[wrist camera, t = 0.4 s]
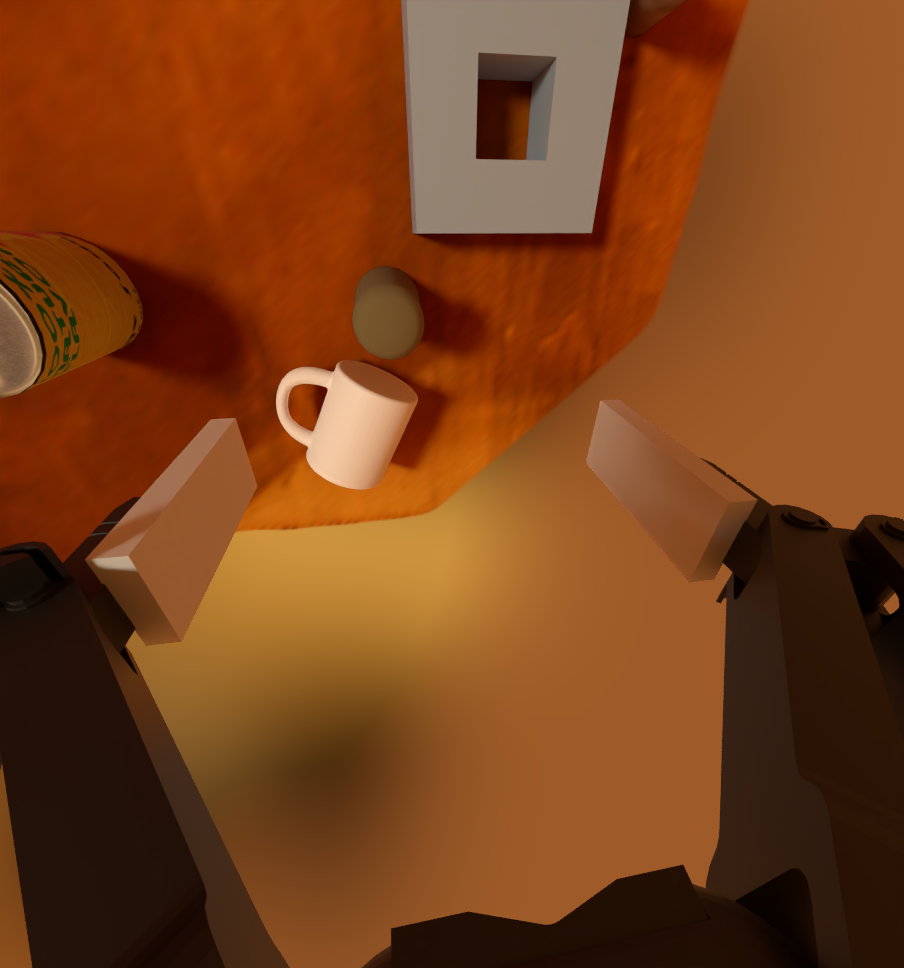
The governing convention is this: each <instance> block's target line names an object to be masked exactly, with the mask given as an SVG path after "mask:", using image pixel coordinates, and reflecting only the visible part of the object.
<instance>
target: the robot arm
mask: <svg viewBox="0 0 904 968" xmlns="http://www.w3.org/2000/svg"><path fill="white" fill-rule="evenodd" d="M586 463H587V464H588V466H589V467H590V468H591V469H592V470H593V471H594V473H595V474H596V475H597V476H598V477H599V478H600V479H601V481H602V482H603V483H604V484H605V485H606V486H607V488H608V489H609V490H610V491H611V492H612V493H613V495H614V496H615V497H616V498H617V499H618V500H619V501H620V503H621V504H622V505H623V506H624V507H625V508H626V510H627V511H628V512H629V513H630V514H631V515H632V516H633V518H634V519H635V520H636V521H637V522H638V524H639V525H640V526H641V527H642V528H643V529H644V530H645V532H646V533H647V534H648V535H649V536H650V537H651V538H652V540H653V541H654V542H655V543H656V544H657V546H658V547H659V548H660V549H661V550H662V551H663V553H664V554H665V555H666V556H667V557H668V558H669V559H670V561H671V562H672V563H673V564H674V565H675V566H676V568H677V569H678V570H679V571H680V572H681V573H682V575H683V576H684V577H685V578H686V579H687V580H688V581H689V582H695V581H703V580H712V579H714V578H715V576H716V575H717V573H718V571H719V569H720V567H721V566H722V564H723V563H724V564H725V565H726V566H727V567H728V568H729V569H730V570H731V571H732V574H731V576H730V578H729V580H728V581H727V583H726V584H725V586H724V588H723V590H722V591H721V593H720V595H719V597H718V599H717V601H716V602H719V603H721V602H722V600H723V599H724V598H727V602H726V634H725V667H724V700H723V702H724V703H723V733H722V736H723V737H722V765H721V800H720V802H721V803H720V830H719V839H718V844H717V848H716V851H715V853H714V856H713V859H712V861H711V864H710V867H709V872H708V876H707V880H706V888H703V887H700V886H697V885H694V884H692V882H691V880H690V878H689V876H688V874H687V872H686V870H685V868H684V866H683V865H680V866H675V867H670V868H666V869H661V870H657V871H652V872H647V873H643V874H639V875H634V876H629V877H625V878H620V879H616V880H615V881H614V882H612V883H611V884H610V885H608V886H607V887H606V888H604V889H603V890H601V891H600V892H599V893H597V894H596V895H594V896H593V897H592V898H590V899H589V900H587V901H586V902H585V903H583V904H582V905H580V906H579V907H578V908H576V909H575V910H574V911H572V912H571V913H569V914H568V915H567V916H565V917H564V918H563V919H561V920H560V921H558V922H556V923H554V924H551V925H543V924H537V923H531V922H525V921H519V920H513V919H507V918H502V917H496V916H490V915H484V914H478V913H472V912H465V913H460V914H455V915H451V916H446V917H442V918H437V919H433V920H428V921H423V922H419V923H415V924H410V925H405V926H401V927H397V928H392V929H391V946H389V947H388V948H386V949H385V950H383V951H382V952H380V953H379V954H377V955H376V956H375V957H373V958H372V959H371V960H370V961H369V962H368V963H367V964H365V965H364V966H363V967H362V968H904V521H903V519H900V518H896V517H894V518H892V517H888V516H884V515H868V516H865V517H864V518H863V519H862V521H861V522H860V523H859V525H858V526H857V528H856V529H855V530H849V529H841V528H833V527H832V525H831V524H830V523H829V522H828V521H826V520H825V519H824V518H822V517H821V516H819V515H816V514H815V513H813V512H811V511H808V510H805V509H802V508H799V507H795V506H790V505H775V506H772V505H771V504H769V503H768V502H766V501H765V500H764V499H762V498H761V497H759V496H758V495H756V494H755V493H754V492H752V491H751V490H749V489H748V488H747V487H745V486H744V485H743V484H741V483H740V482H736V479H734V478H733V477H731V476H730V475H726V472H724V471H723V470H722V469H720V468H719V467H717V466H716V465H715V464H713V463H711V462H708V461H706V460H704V459H702V458H699V457H698V456H696V455H695V454H694V453H693V452H691V451H690V450H688V449H687V448H686V447H684V446H683V445H681V444H680V443H679V442H677V441H676V440H675V439H673V438H672V437H670V436H669V435H668V434H666V433H665V432H663V431H662V430H661V429H659V428H658V427H657V426H655V425H654V424H653V423H651V422H650V421H648V420H647V419H646V418H644V417H643V416H642V415H640V414H639V413H637V412H636V411H635V410H633V409H632V408H631V407H629V406H628V405H626V404H625V403H624V402H622V401H621V400H620V399H617V400H616V399H615V400H601V401H600V405H599V410H598V413H597V418H596V422H595V427H594V431H593V435H592V439H591V443H590V448H589V452H588V456H587V460H586ZM256 488H257V483H256V480H255V477H254V474H253V471H252V468H251V465H250V462H249V459H248V455H247V452H246V449H245V446H244V443H243V440H242V437H241V434H240V431H239V428H238V425H237V422H236V419H235V418H228V419H211V420H210V421H209V422H208V423H207V424H206V426H205V427H204V428H203V429H202V430H201V431H200V432H199V433H198V435H197V436H196V437H195V438H194V439H193V440H192V441H191V442H190V443H189V445H188V446H187V447H186V448H185V449H184V450H183V451H182V452H181V453H180V455H179V456H178V457H177V458H176V459H175V460H174V461H173V462H172V463H171V465H170V466H169V467H168V468H167V469H166V470H165V471H164V472H163V473H162V475H161V476H160V477H159V478H158V479H157V480H156V481H155V482H154V483H153V485H152V486H151V487H150V488H149V489H148V490H147V491H146V492H145V493H144V495H143V496H142V497H133V498H132V499H130V500H129V501H127V502H125V503H124V504H122V505H121V506H119V507H117V508H116V509H114V510H113V511H112V512H111V513H110V514H109V515H108V517H107V518H106V519H105V520H104V521H103V522H102V525H99V526H98V527H97V528H96V529H95V530H94V531H93V532H92V533H91V537H87V538H86V540H85V541H84V542H83V543H82V544H81V545H80V546H79V547H78V548H77V549H76V550H75V551H74V552H73V553H72V554H71V555H70V556H69V557H68V558H67V559H66V560H65V562H64V563H62V562H61V561H60V559H59V558H58V557H57V555H56V554H55V553H54V551H53V550H52V549H51V547H49V546H48V545H47V544H46V543H43V542H34V541H32V542H25V543H18V544H14V545H11V546H7V547H4V548H1V549H0V769H1V764H2V765H3V772H4V779H5V785H6V792H7V799H8V806H9V812H10V819H11V826H12V833H13V840H14V846H15V853H16V860H17V866H18V873H19V880H20V887H21V894H22V900H23V906H24V913H25V921H26V927H27V934H28V941H29V947H30V954H31V961H32V968H289V966H288V964H287V963H286V961H285V959H284V958H283V956H282V955H281V953H280V952H279V950H278V949H277V947H276V946H275V945H274V943H273V941H272V939H271V938H270V936H269V934H268V932H267V930H266V929H265V927H264V925H263V923H262V921H261V919H260V917H259V914H258V912H257V910H256V908H255V906H254V904H253V902H252V900H251V898H250V896H249V894H248V892H247V890H246V888H245V886H244V884H243V882H242V880H241V877H240V875H239V873H238V871H237V869H236V867H235V865H234V863H233V861H232V859H231V857H230V855H229V853H228V851H227V849H226V847H225V845H224V842H223V841H222V839H221V836H220V834H219V832H218V830H217V828H216V826H215V824H214V822H213V820H212V818H211V816H210V814H209V812H208V810H207V808H206V806H205V803H204V802H203V799H202V797H201V795H200V793H199V791H198V789H197V787H196V785H195V783H194V781H193V779H192V777H191V775H190V773H189V771H188V768H187V766H186V765H185V763H184V760H183V758H182V756H181V754H180V752H179V750H178V748H177V746H176V744H175V742H174V740H173V738H172V736H171V734H170V731H169V729H168V727H167V725H166V723H165V722H164V719H163V717H162V715H161V713H160V711H159V709H158V707H157V705H156V703H155V701H154V699H153V697H152V694H151V693H150V690H149V688H148V686H147V684H146V682H145V680H144V678H143V676H142V674H141V672H140V670H139V668H138V666H137V664H136V662H135V660H134V658H133V656H132V654H131V653H130V651H129V650H128V648H127V647H126V646H125V645H126V643H127V641H128V640H129V638H130V637H131V635H132V633H133V632H134V630H135V631H136V632H137V634H138V635H139V636H140V638H141V639H142V641H143V642H144V643H145V645H155V644H164V643H172V642H181V641H182V639H183V637H184V635H185V633H186V631H187V629H188V627H189V625H190V623H191V621H192V619H193V617H194V615H195V613H196V611H197V609H198V607H199V605H200V603H201V601H202V598H203V596H204V594H205V592H206V590H207V588H208V586H209V584H210V582H211V580H212V578H213V576H214V574H215V572H216V570H217V568H218V566H219V563H220V561H221V560H222V557H223V555H224V553H225V551H226V549H227V547H228V545H229V543H230V541H231V539H232V537H233V535H234V533H235V531H236V529H237V527H238V525H239V523H240V521H241V519H242V516H243V514H244V512H245V510H246V508H247V506H248V504H249V502H250V500H251V498H252V496H253V494H254V492H255V490H256ZM894 593H896V594H897V596H898V598H899V604H900V605H899V608H898V609H897V610H896V611H895V612H894V613H892V614H889V613H888V611H887V610H886V609H885V607H884V606H883V605H884V604H885V603H886V602H887V601H888V600H889V599H890V597H892V595H893V594H894Z"/></svg>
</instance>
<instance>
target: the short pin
mask: <svg viewBox="0 0 904 968" xmlns="http://www.w3.org/2000/svg"><path fill="white" fill-rule="evenodd" d="M685 1H687V0H630V5H629V11H628V17H627V23H626V29H625V35H627V36H629V37H637V36H640V35H642V34H643V33H645V32H646V31H647V30H649V29H650V28H651V27H653V26H654V25H655V24H656V23H658V22H659V21H660V20H662V19H663V18H664V17H666V16H667V15H668V14H670V13H671V12H672V11H673V10H675V9H676V8H677V7H679V6H680V5H681V4H683V3H684V2H685Z"/></svg>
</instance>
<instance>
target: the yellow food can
mask: <svg viewBox="0 0 904 968" xmlns="http://www.w3.org/2000/svg"><path fill="white" fill-rule="evenodd" d="M142 321H143V314H142V304H141V302H140V299H139V296H138V293H137V290H136V288H135V287H134V285H133V284H132V282H131V280H130V279H129V277H128V275H127V274H126V273H125V272H124V271H123V270H122V269H121V267H120V266H119V265H118V264H117V263H116V262H115V261H114V260H113V259H112V258H110V257H109V256H108V255H107V254H105V253H104V252H103V251H101V250H100V249H99V248H98V247H96V246H94V245H92V244H90V243H88V242H86V241H84V240H82V239H81V238H78V237H74V236H71V235H68V234H64V233H59V232H0V398H4V397H8V396H12V395H16V394H19V393H22V392H24V391H26V390H28V389H31V388H33V387H35V386H37V385H40V384H42V383H44V382H46V381H49V380H51V379H53V378H55V377H58V376H60V375H62V374H64V373H67V372H69V371H71V370H73V369H76V368H78V367H80V366H82V365H85V364H87V363H89V362H91V361H94V360H96V359H98V358H100V357H103V356H105V355H107V354H109V353H112V352H114V351H116V350H118V349H121V348H123V347H125V346H126V345H128V344H129V343H131V342H132V341H133V340H134V339H135V338H136V336H137V335H138V333H139V332H140V329H141V325H142Z"/></svg>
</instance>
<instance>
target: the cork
mask: <svg viewBox="0 0 904 968" xmlns="http://www.w3.org/2000/svg"><path fill="white" fill-rule="evenodd" d="M352 321H353V327H354V332H355V334H356V336H357V338H358V340H359V342H360V343H361V344H362V345H363V347H364V348H365V349H366V350H367V351H368V352H370V353H372V354H374V355H375V356H377V357H380V358H384V359H388V360H389V359H399V358H401V357H404V356H406V355H408V354H409V353H411V352H412V351H413V350H414V349H415V348H416V347H417V346H418V344H419V342H420V340H421V339H422V336H423V331H424V327H425V324H424V314H423V311H422V309H421V306H420V298H419V293H418V291H417V288H416V285H415V284H414V282H413V281H412V280H411V279H410V277H409V276H408V275H407V274H405V273H404V272H402V271H401V270H399V269H397V268H393V267H390V266H384V267H377V268H374V269H372V270H370V271H368V272H367V273H366V274H365V275H364V276H363V277H362V278H361V279H360V281H359V283H358V286H357V288H356V293H355V306H354V310H353V318H352Z"/></svg>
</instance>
